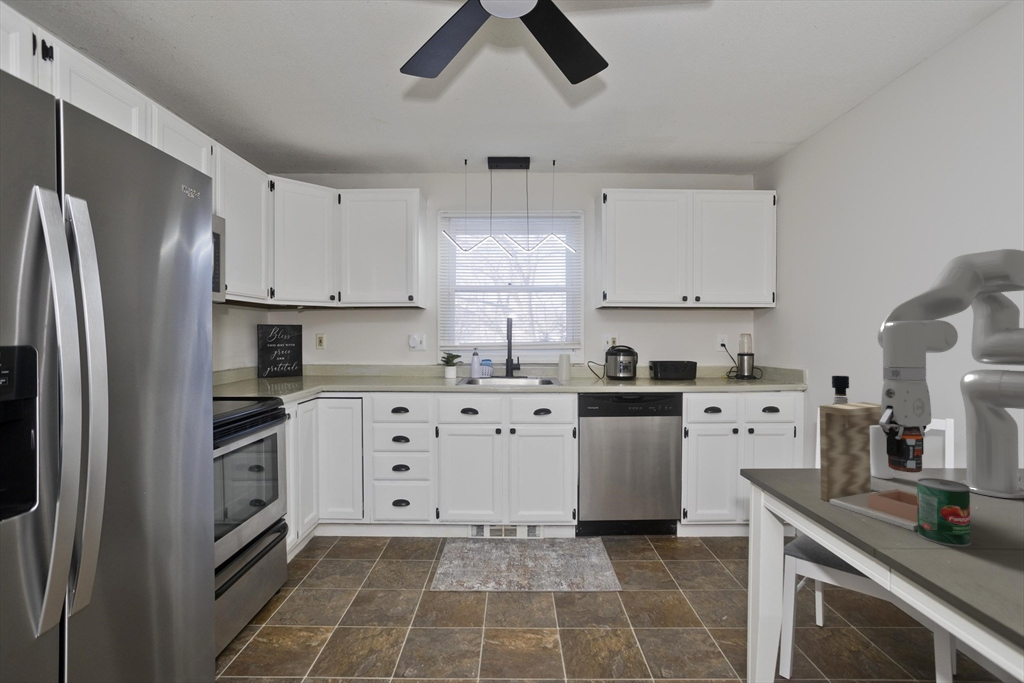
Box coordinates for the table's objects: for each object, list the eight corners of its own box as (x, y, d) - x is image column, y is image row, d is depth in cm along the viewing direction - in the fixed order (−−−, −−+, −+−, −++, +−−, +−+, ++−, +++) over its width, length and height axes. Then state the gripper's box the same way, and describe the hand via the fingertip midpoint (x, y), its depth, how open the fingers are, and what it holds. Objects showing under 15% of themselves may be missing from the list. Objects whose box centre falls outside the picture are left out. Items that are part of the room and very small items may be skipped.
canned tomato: (965, 550, 89) (964, 492, 89) (912, 537, 95) (911, 482, 95) (975, 539, 93) (974, 484, 94) (923, 527, 100) (922, 475, 100)
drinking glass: (903, 481, 132) (902, 427, 132) (875, 480, 134) (874, 427, 134) (888, 474, 139) (888, 423, 139) (863, 473, 140) (862, 423, 140)
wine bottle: (828, 480, 134) (826, 375, 134) (856, 484, 130) (854, 375, 130) (827, 486, 129) (825, 376, 129) (856, 490, 125) (854, 377, 125)
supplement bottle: (921, 475, 102) (921, 422, 102) (886, 470, 106) (886, 420, 106) (923, 469, 107) (922, 419, 107) (889, 465, 111) (888, 417, 111)
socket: (874, 495, 120) (874, 479, 120) (961, 520, 104) (960, 501, 104) (829, 503, 115) (829, 487, 115) (913, 530, 98) (913, 511, 98)
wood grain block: (864, 491, 124) (863, 402, 124) (894, 499, 117) (892, 405, 117) (820, 499, 118) (819, 405, 118) (849, 508, 112) (847, 409, 112)
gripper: (897, 377, 100) (898, 462, 100) (948, 375, 106) (949, 455, 106) (860, 375, 107) (861, 454, 107) (910, 373, 113) (911, 448, 113)
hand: (905, 454), depth 106 cm, fingers closed on supplement bottle, 6 cm apart
